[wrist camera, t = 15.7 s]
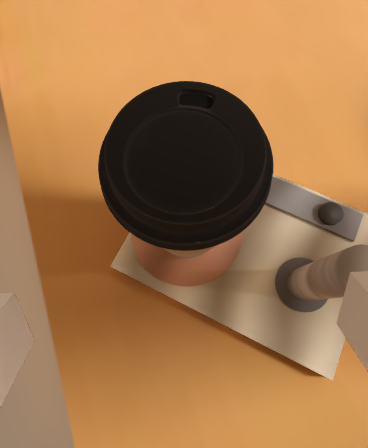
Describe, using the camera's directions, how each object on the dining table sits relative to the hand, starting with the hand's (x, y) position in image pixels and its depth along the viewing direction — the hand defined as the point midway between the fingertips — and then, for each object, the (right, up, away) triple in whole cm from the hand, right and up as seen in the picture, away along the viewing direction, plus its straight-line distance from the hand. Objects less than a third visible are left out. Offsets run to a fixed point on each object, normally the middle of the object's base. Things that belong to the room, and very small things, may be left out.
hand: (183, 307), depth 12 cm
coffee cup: (0, +3, +17) cm, 17 cm away
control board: (+6, +1, +18) cm, 19 cm away
